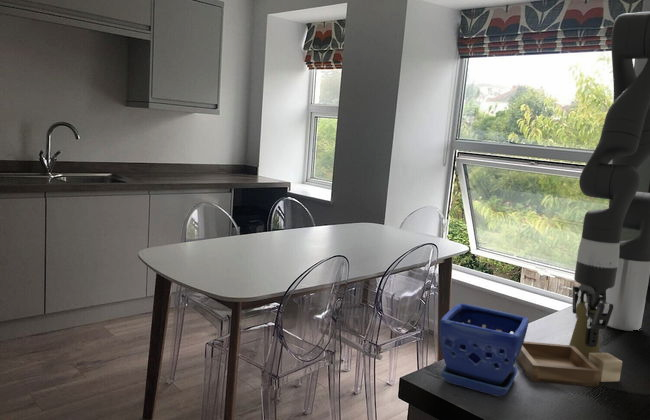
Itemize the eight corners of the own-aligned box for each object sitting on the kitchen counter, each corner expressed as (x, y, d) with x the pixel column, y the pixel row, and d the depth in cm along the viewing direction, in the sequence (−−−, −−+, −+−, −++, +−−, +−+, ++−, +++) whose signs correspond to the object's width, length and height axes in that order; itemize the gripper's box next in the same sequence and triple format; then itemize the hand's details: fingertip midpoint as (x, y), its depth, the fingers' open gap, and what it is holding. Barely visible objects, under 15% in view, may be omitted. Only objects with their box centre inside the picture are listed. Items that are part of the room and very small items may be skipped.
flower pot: (451, 359, 106) (457, 300, 104) (522, 377, 100) (530, 315, 98) (431, 384, 94) (438, 318, 92) (510, 407, 88) (520, 337, 86)
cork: (603, 361, 110) (611, 309, 109) (571, 357, 111) (579, 305, 110) (594, 350, 116) (602, 300, 114) (564, 346, 117) (571, 297, 116)
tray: (511, 354, 110) (513, 340, 110) (571, 359, 110) (573, 345, 109) (531, 380, 98) (533, 365, 98) (598, 387, 98) (600, 371, 98)
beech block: (586, 372, 104) (589, 352, 104) (604, 372, 105) (607, 352, 105) (600, 382, 100) (604, 361, 100) (619, 381, 101) (622, 361, 101)
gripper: (633, 271, 104) (620, 357, 106) (599, 255, 118) (588, 330, 120) (593, 268, 104) (581, 353, 106) (564, 252, 118) (554, 327, 120)
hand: (585, 341), depth 113 cm, fingers open, 4 cm apart
